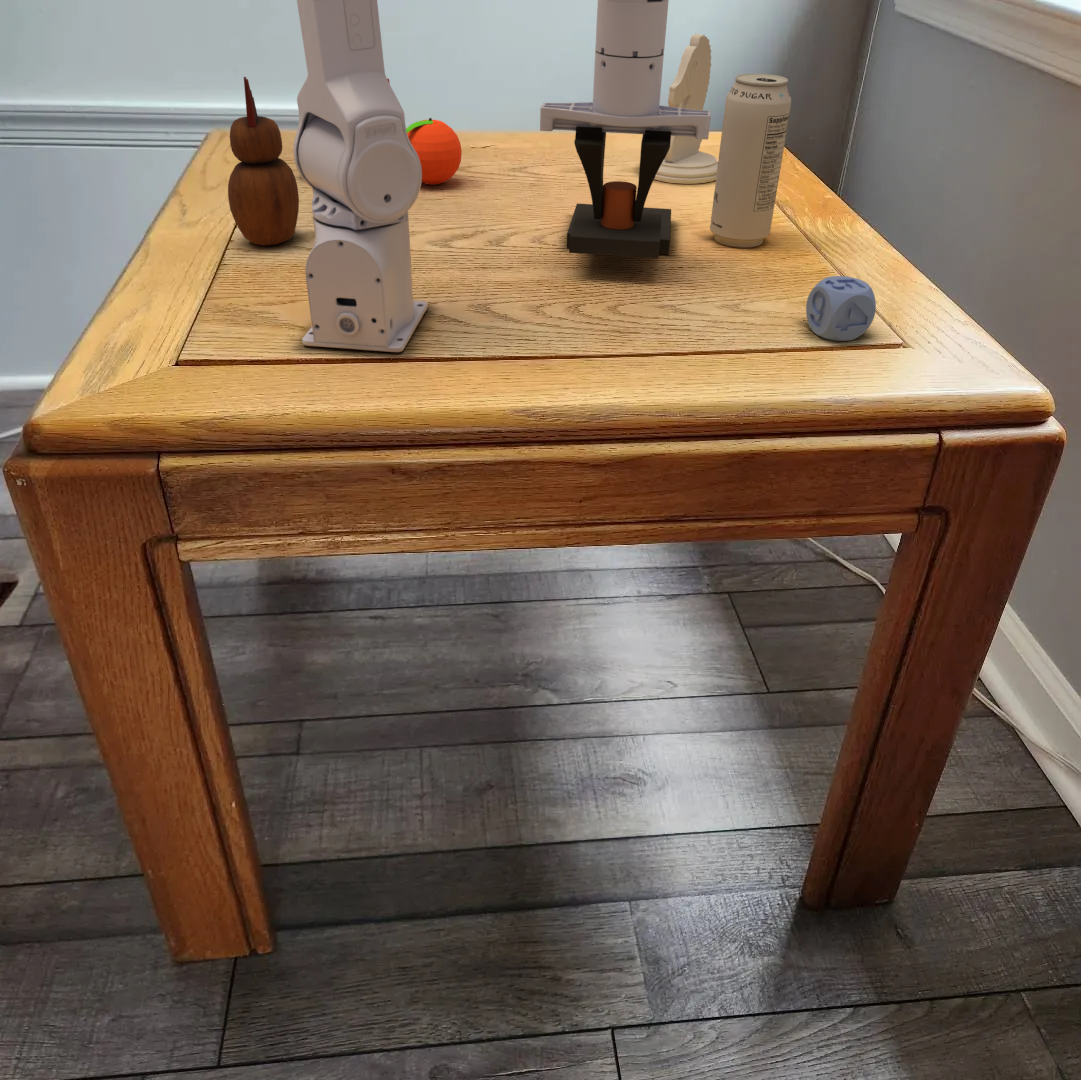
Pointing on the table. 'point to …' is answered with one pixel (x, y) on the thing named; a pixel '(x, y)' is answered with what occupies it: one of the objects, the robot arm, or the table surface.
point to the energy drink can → (750, 159)
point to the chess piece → (691, 94)
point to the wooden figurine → (261, 180)
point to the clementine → (435, 149)
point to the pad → (616, 239)
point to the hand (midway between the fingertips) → (618, 217)
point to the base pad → (665, 212)
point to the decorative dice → (840, 308)
